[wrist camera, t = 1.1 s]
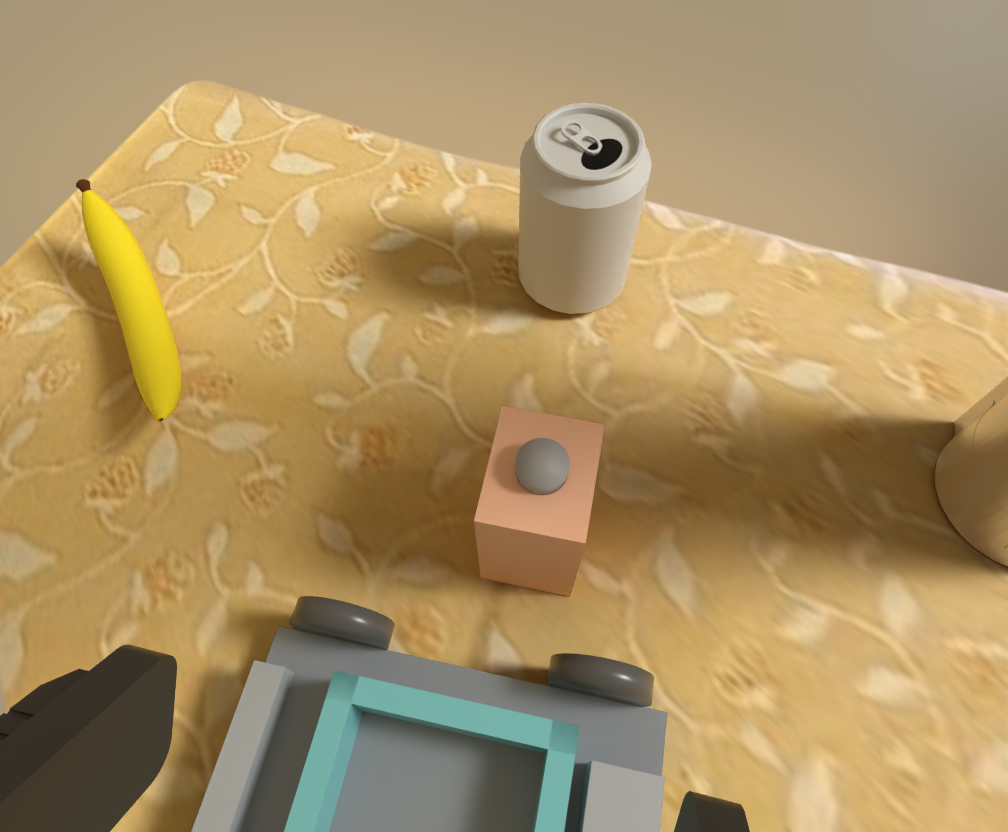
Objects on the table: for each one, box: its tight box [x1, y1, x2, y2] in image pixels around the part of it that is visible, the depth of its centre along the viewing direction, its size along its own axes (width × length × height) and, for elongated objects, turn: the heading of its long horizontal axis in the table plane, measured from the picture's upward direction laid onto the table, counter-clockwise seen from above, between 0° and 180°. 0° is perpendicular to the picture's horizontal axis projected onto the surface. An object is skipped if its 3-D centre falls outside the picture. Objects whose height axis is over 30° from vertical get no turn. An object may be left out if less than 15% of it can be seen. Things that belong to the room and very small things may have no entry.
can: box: [518, 103, 652, 314], centre depth 44 cm, size 8×8×12 cm
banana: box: [76, 179, 181, 422], centre depth 44 cm, size 3×19×6 cm, turn 27°
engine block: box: [474, 406, 605, 597], centre depth 36 cm, size 6×5×10 cm
